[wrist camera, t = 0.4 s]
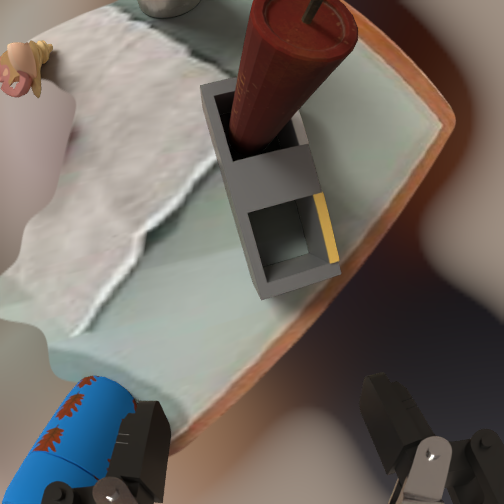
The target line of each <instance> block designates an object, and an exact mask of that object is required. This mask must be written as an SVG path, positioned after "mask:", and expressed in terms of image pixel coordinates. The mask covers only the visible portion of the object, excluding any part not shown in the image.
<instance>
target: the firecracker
mask: <svg viewBox="0 0 504 504" xmlns="http://www.w3.org/2000/svg"><path fill="white" fill-rule="evenodd" d="M357 41H358V27H357V25H356V22H355V20H354V17H353V15H352V14H351V13H350V11H349V10H348V9H347V8H346V6H345V5H344V4H343V3H342V2H340V1H339V0H253V3H252V7H251V12H250V16H249V21H248V26H247V31H246V36H245V41H244V46H243V51H242V56H241V61H240V67H239V72H238V77H237V83H236V88H235V94H234V100H233V106H232V111H231V117H230V123H229V130H228V142H229V144H230V146H231V148H232V149H233V150H234V151H236V152H237V153H239V154H241V155H244V156H254V155H257V154H259V153H261V152H262V151H263V150H264V149H265V148H266V147H267V146H268V145H269V144H270V143H271V141H272V140H273V139H274V138H275V137H276V135H277V134H278V133H279V132H280V131H281V130H282V128H283V127H284V126H285V125H286V124H287V123H288V121H289V120H290V119H291V118H292V117H293V116H294V114H295V113H296V112H297V111H298V110H299V109H300V108H301V106H302V105H303V104H304V103H305V102H306V101H307V100H308V99H309V97H310V96H311V95H312V94H313V93H314V92H315V91H316V90H317V89H318V87H319V86H320V85H321V84H322V83H323V82H324V81H325V80H326V79H327V78H328V76H329V75H330V74H331V73H332V72H333V71H334V70H335V69H336V68H337V67H338V66H339V65H340V63H341V62H342V61H343V60H344V59H345V58H346V57H347V56H348V55H349V54H350V53H351V52H352V51H353V49H354V47H355V45H356V43H357Z"/></svg>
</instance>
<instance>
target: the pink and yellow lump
mask: <svg viewBox="0 0 504 504" xmlns="http://www.w3.org/2000/svg"><path fill="white" fill-rule="evenodd" d="M52 50H53V46H52V44H46V42H45V41H43V40H42V41H38V42H37V43H35V42H33V41H30V42H29V43H28V42H27V43H25V44H24V43H11V44H8V45H7V51H6V52H5V53H3V55H2V56H1V57H0V82H3V84H2V87H1V89H2V91H3V92H5V93H6V94H7V95H9V96H12V97H20V96H22V95H25V94H27V93H28V91H29V89H30V87H32V91H33V93H34V95H35V96H36V97H37V98H39V97H40V94H41V76H40V69H41V65H42V64H45V63H46V62H47V61H48V60H49V53H50V52H51V51H52ZM13 82H19V83H17V84H16V87H15V89H13V88H12V87H10V86H11V85H12V83H13Z"/></svg>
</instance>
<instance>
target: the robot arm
mask: <svg viewBox="0 0 504 504" xmlns="http://www.w3.org/2000/svg"><path fill="white" fill-rule="evenodd" d="M137 1H138V4H139V6H140V8H141V10H142V11H143V12H144V13H145V14H147V15H149V16H152V17H156V18H169V17H174V16H178V15H181V14H184V13H186V12H188V11H190V10H191V9H192V8H194V7H195V6H196V5H197V4H198V3H199V2H200V0H137ZM359 405H360V412H361V414H362V417H363V419H364V421H365V424H366V426H367V428H368V431H369V433H370V436H371V438H372V440H373V443H374V445H375V447H376V450H377V452H378V454H379V457H380V459H381V462H382V464H383V466H384V469H385V471H386V474H387V475H390V474H392V473H395V472H396V473H397V476H398V479H397V482H396V484H395V487H394V490H393V492H392V494H391V497H390V499H389V502H388V504H444V501H442V499H441V498H442V494H443V490H444V488H447V490H448V492H449V495H450V497H451V500H452V502H453V504H504V444H503V443H502V441H501V439H500V438H499V436H498V435H497V433H495V432H494V431H492V430H490V429H481V430H479V431H477V432H476V433H475V434H474V435H473V436H472V438H471V439H467V440H461V441H454V442H448V441H447V440H446V439H444V438H442V437H438V436H436V435H435V434H434V433H433V432H432V430H431V428H430V426H429V425H428V423H427V421H426V420H425V418H424V416H423V414H422V413H421V411H420V410H419V408H418V407H417V405H416V403H415V401H414V400H413V399H412V396H411V395H410V393H409V392H408V390H407V388H405V387H404V386H403V385H401V384H400V383H399V382H397V381H395V382H392V383H391V382H390V381H389V379H388V377H387V376H386V374H385V373H383V372H381V373H377V374H374V375H370V376H366V377H365V378H364V382H363V387H362V392H361V396H360V401H359ZM170 439H171V429H170V424H169V422H168V420H167V418H166V415H165V413H164V411H163V409H162V407H161V405H160V403H159V401H139V402H138V405H137V408H136V412H135V413H128V414H127V415H126V417H125V418H124V419H123V420H122V422H121V424H120V428H119V431H118V435H117V438H116V443H115V445H114V449H113V452H112V456H111V460H110V464H109V467H108V471H107V474H106V476H105V478H102V479H100V480H99V481H97V482H96V484H95V485H94V486H89V487H78V488H71V487H70V486H69V485H68V484H66V483H64V482H62V481H55V482H52V483H50V484H49V485H48V486H47V487H46V488H45V490H44V493H43V497H42V501H41V504H154V502H158V503H163V496H164V486H165V478H166V470H167V462H168V454H169V447H170Z"/></svg>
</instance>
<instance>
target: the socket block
mask: <svg viewBox="0 0 504 504" xmlns="http://www.w3.org/2000/svg"><path fill="white" fill-rule="evenodd" d="M236 83H237V77H234V78H229V79H225V80H221V81H216V82H212V83H208V84H204V85H200V90H201V99H202V107H203V111H204V114H205V118H206V122H207V125H208V129H209V132H210V136H211V139H212V143H213V146H214V150H215V154H216V157H217V161H218V164H219V168H220V171H221V175H222V178H223V182H224V185H225V189H226V192H227V196H228V199H229V203H230V206H231V210H232V213H233V216H234V220H235V223H236V227H237V230H238V234H239V237H240V241H241V244H242V248H243V251H244V254H245V258H246V261H247V265H248V268H249V272H250V275H251V278H252V282H253V284H254V286H255V288H256V291H257V293H258V295H259V297H260V299H261V300H264V299H267V298H270V297H274V296H277V295H280V294H283V293H286V292H289V291H292V290H295V289H298V288H301V287H305V286H308V285H311V284H314V283H317V282H320V281H323V280H325V279H328V278H331V277H334V276H337V275H340V274H341V270H340V265H339V256H338V252H337V247H336V243H335V238H334V234H333V230H332V226H331V221H330V217H329V213H328V209H327V205H326V201H325V198H324V194H323V192H322V190H321V187H320V183H319V179H318V176H317V172H316V168H315V165H314V162H313V158H312V155H311V151H310V148H309V145H308V143H309V141H308V138H307V134H306V131H305V128H304V125H303V122H302V119H301V116H300V113H299V110H298V111H297V112H296V113H295V114H294V116H293V117H292V118H291V119H290V120H289V121H288V123H287V124H286V125H285V126H284V127H283V128H282V130H281V131H280V132H279V133H278V134H277V138H278V141H279V145H280V148H281V150H277V151H273V152H269V153H265V154H261V155H257V156H253V157H249V158H245V159H241V160H237V161H234V162H233V161H232V158H231V154H230V151H229V147H228V144H227V140H226V137H225V133H224V130H223V127H222V123H221V120H220V116H219V115H222V114H226V113H230V112H231V111H232V106H233V100H234V94H235V88H236ZM292 200H295V201H296V204H297V208H298V212H299V215H300V219H301V223H302V227H303V231H304V235H305V239H306V243H307V247H308V251H309V253H308V254H305V255H302V256H298V257H295V258H292V259H289V260H285V261H282V262H279V263H276V264H272V265H269V266H266V267H262V263H261V260H260V256H259V252H258V249H257V245H256V242H255V238H254V235H253V231H252V228H251V224H250V221H249V217H248V214H247V213H249V212H252V211H256V210H259V209H263V208H266V207H270V206H274V205H277V204H281V203H284V202H288V201H292Z"/></svg>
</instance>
